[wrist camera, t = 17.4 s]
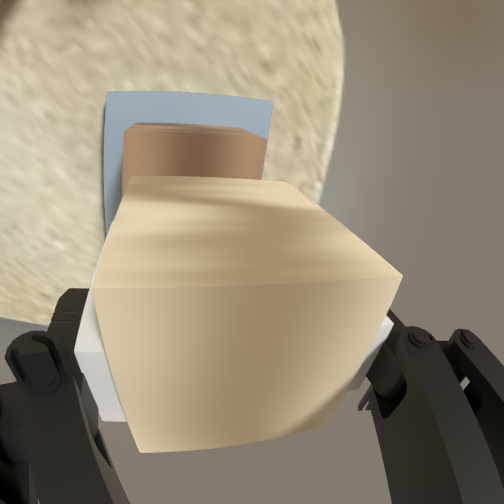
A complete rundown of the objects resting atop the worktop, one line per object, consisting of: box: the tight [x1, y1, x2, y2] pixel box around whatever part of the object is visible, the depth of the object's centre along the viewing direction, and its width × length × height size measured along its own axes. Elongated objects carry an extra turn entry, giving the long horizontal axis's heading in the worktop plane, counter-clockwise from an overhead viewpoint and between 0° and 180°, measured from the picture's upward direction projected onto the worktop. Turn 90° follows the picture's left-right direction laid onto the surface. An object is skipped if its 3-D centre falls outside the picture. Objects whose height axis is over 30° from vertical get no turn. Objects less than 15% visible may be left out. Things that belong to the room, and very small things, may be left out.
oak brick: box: [92, 176, 403, 453], centre depth 9 cm, size 6×6×7 cm
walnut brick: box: [122, 123, 267, 198], centre depth 20 cm, size 8×8×7 cm
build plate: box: [104, 91, 273, 237], centre depth 24 cm, size 13×13×2 cm
